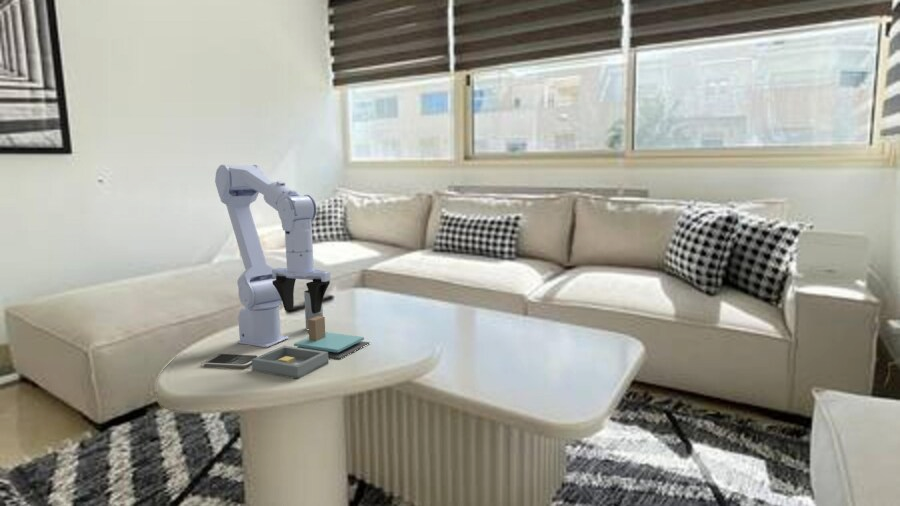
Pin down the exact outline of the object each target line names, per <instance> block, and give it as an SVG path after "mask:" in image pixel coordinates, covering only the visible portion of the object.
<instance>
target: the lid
mask: <svg viewBox="0 0 900 506" xmlns="http://www.w3.org/2000/svg"><path fill="white" fill-rule="evenodd" d="M325 321H326V319H325V316H323V317H322V316H317V317H314V318H311V319H309V320H308V325H309V330H308V337H306V338H304V339H301V340H299V341H297V342H294V343H293V347H304V348H306V349H313V350H319V351H326V352H333V353H338V352H340V351H342V350H344V349H346V348H348V347H350V346H352V345H354V344H356V343H358V342H360V341H365V337H364V336H357V335H350V334H342V333H334V332H326V322H325Z"/></svg>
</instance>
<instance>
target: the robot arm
mask: <svg viewBox="0 0 900 506" xmlns="http://www.w3.org/2000/svg"><path fill="white" fill-rule="evenodd" d="M214 183H215V186H216V190H217V193H218V196H219V199H220V202H221V203H222V204H224V205H225V206H226V209H227V213H228V216H229V219H230V224H231V227H232V230H233V233H234V236H235V239H236V244H237V246H238V249H239V254H240V256H241V260H242V262H243V265H244V269H245V270H244V272H242V273H241V274H240V276H239V277H238V279H237V288H238V298H239V301H240V303H241V304H242V305H243V306H242V307H241V308H240V311H239V312H238V318H237V319H238V331H239V340H237V342H236V343H237V344H241V345H248V346H255V347H262V348H269V347H271V346H273V345H276V344H278V342H279V343H281V342H283V340H284V341H286V340H289V336H287V335H282V334H281V332H282V331H281V319H280V317H281V315H280V306H281V305H282V304H283V308H284V310H285V311H289V310H293V309H294V304H295V303H294V302H295V301H294V296H295V295H294V290H295V284H296V280H308V282H306V288H307V290H309V294H310V299H311V310H312V313H314V314H315V313H318V312H320V311H321V306H322V305H323V302H324V297H325V295H326V291H327V290H328V288H329V286H330V283H331V282H330V281H331V271H328V270H327V271H325V270H320V269H316V268H314V267H315V266H314V249H313V247H314V245H313V229H312V228H313V227H312V221H313V220H315V219H316V216H317V211H318V209H317V203H316V201H315V200H314V198H313V197H312V196H311V195H310V194H304V195H300V194H299V193H297V190H295V189H291V188H290V187H289V186H287V185H286V182H285V181H283V180H282V181H281V180H277V181H272V180H271V179H270V178H269V177H268V176H266V175H265V173H264V169H263V168H262V167H260V166H259V165H258V164H253V165H247V164H245V165H243V164H242V165H238V164H237V165H235V164H233V165H229V164H227V165H226V164H220V165H219V166H218V167H217V169H216V172H215V178H214ZM259 194H262V195H263V200H264V202H265V203H266V204H268V205H269V206H270V207H272V208H273V209H274V210H275V211H277V213H278V214H277V215H278V216H279V217H278V218H279V219H280V222H281V228H282V231H284V238H285V239H284V241H285V257H286V259H285V260H286V267H276V268H274V267H273V266H271V265H269V264H268V263H267V260H266V258H265V254H264V251H263V247H262V244H261V241H260V238H259V234H258V231H257V228H256V225H255V220H254V217H253V215H252V211H251V208H250V205H251V204H252V203H254V202H256V201H257V198H258V195H259ZM285 339H286V340H285Z"/></svg>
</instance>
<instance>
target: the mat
mask: <svg viewBox="0 0 900 506" xmlns="http://www.w3.org/2000/svg"><path fill="white" fill-rule="evenodd" d="M369 343H370V344H371V342H369V341H364V340H362V341H360V342H358V343H356V344H354V345H352V346H350V347H348V348H346V349H344V350H342V351H340V352H338V353H333V352H328V357H329V358H328V359H334V358H336V360H342V359H344V358H346V357H348V356H349V355H348V354H350V353H352V352H354V351H355V350H357V349H359V348H361V347H363V346H365V345H367V344H369ZM370 344H369V345H370ZM367 346H368V345H367ZM296 347H297V348H304V347H298V346H296ZM365 347H366V346H365ZM363 348H364V347H363ZM304 349H306V348H304ZM361 349H362V348H361ZM311 350H313V349H311ZM359 350H360V349H359ZM318 351H319V350H318ZM324 352H326V351H324ZM354 353H355V352H354ZM352 354H353V353H352ZM347 355H348V356H347ZM350 355H351V354H350ZM345 356H346V357H345ZM343 357H344V358H343ZM341 358H342V359H341Z"/></svg>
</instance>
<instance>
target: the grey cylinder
mask: <svg viewBox="0 0 900 506" xmlns="http://www.w3.org/2000/svg"><path fill="white" fill-rule="evenodd" d="M303 297H304V315H305V316H304V317H305V329H306V328H307V329H309V325H308V320H309V319H311V318H314V317H317V316H322V317H324V310H323V304H322V306H321V311H320V312H318V313H315V314H314V313H312V310H311V299H310V294H309V290H308V289H306V290H304V291H303Z"/></svg>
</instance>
